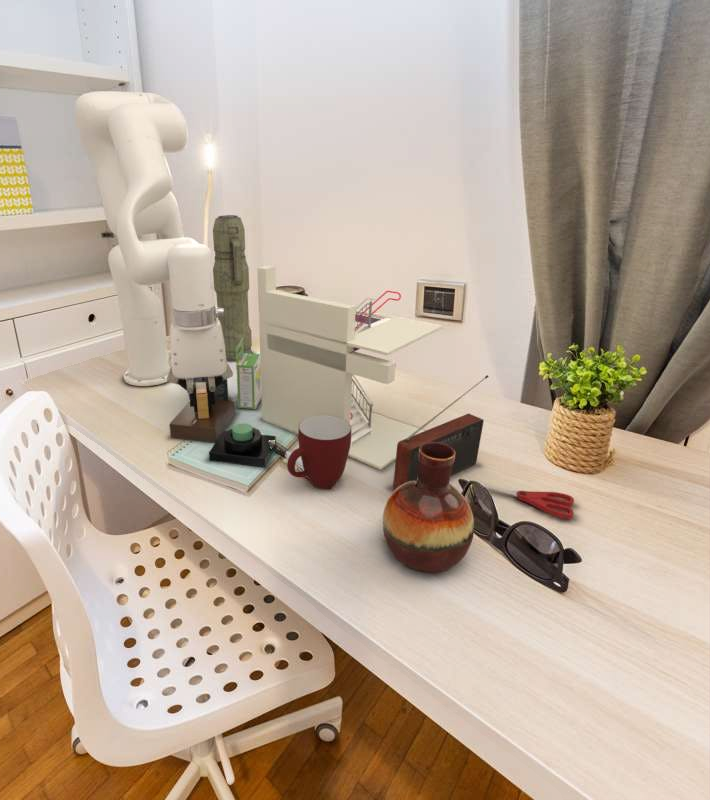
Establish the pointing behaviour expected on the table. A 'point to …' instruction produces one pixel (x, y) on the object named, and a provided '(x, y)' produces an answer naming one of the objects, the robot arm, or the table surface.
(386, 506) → the vase
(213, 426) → the plate
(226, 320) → the green carrying bag
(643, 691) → the table surface
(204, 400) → the thumb turn
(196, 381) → the box
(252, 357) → the ink box
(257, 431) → the button block
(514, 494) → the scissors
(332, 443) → the mug
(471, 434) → the radio
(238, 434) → the release button
